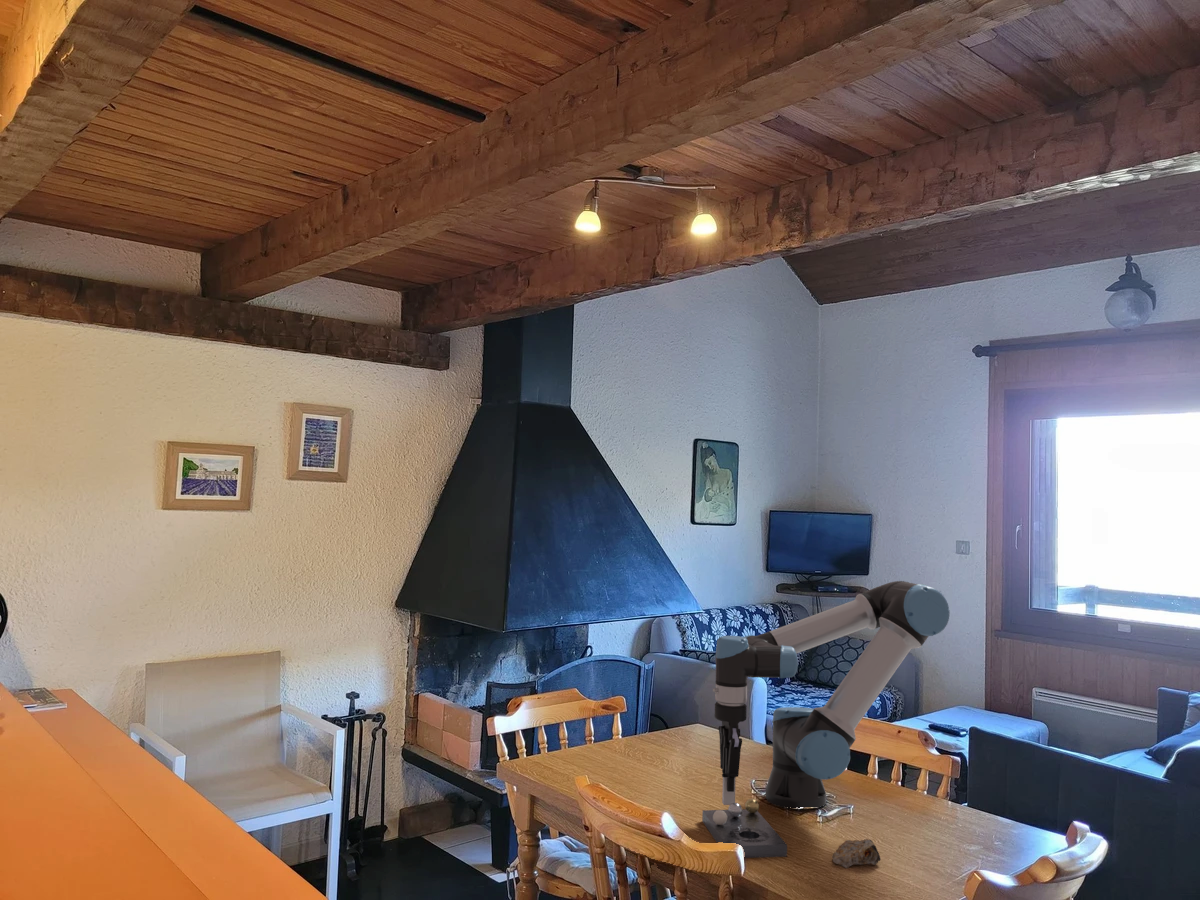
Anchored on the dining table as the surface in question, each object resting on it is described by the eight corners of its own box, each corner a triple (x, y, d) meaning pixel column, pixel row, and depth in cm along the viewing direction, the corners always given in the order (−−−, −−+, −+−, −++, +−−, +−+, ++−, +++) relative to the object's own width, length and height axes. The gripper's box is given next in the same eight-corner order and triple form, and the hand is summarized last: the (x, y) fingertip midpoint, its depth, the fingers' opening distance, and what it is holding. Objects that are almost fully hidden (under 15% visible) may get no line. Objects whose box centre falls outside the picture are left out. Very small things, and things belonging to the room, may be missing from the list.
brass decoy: (756, 810, 209) (756, 796, 210) (760, 815, 206) (760, 801, 206) (743, 810, 209) (743, 796, 209) (747, 815, 206) (747, 801, 206)
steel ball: (739, 814, 206) (740, 800, 206) (743, 819, 203) (744, 805, 203) (726, 814, 206) (726, 800, 206) (730, 819, 203) (730, 805, 203)
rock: (872, 854, 191) (826, 844, 192) (879, 831, 190) (832, 820, 191) (880, 881, 183) (832, 870, 183) (888, 856, 181) (839, 845, 182)
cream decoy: (725, 822, 201) (725, 807, 201) (728, 827, 198) (729, 812, 198) (711, 822, 201) (711, 807, 201) (714, 827, 198) (715, 812, 198)
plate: (702, 821, 208) (702, 810, 209) (755, 819, 210) (755, 809, 210) (727, 858, 187) (727, 846, 187) (786, 856, 188) (787, 844, 188)
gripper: (709, 696, 216) (706, 794, 215) (721, 708, 204) (719, 813, 202) (738, 696, 217) (736, 794, 216) (753, 708, 204) (751, 813, 203)
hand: (728, 803), depth 209 cm, fingers closed
